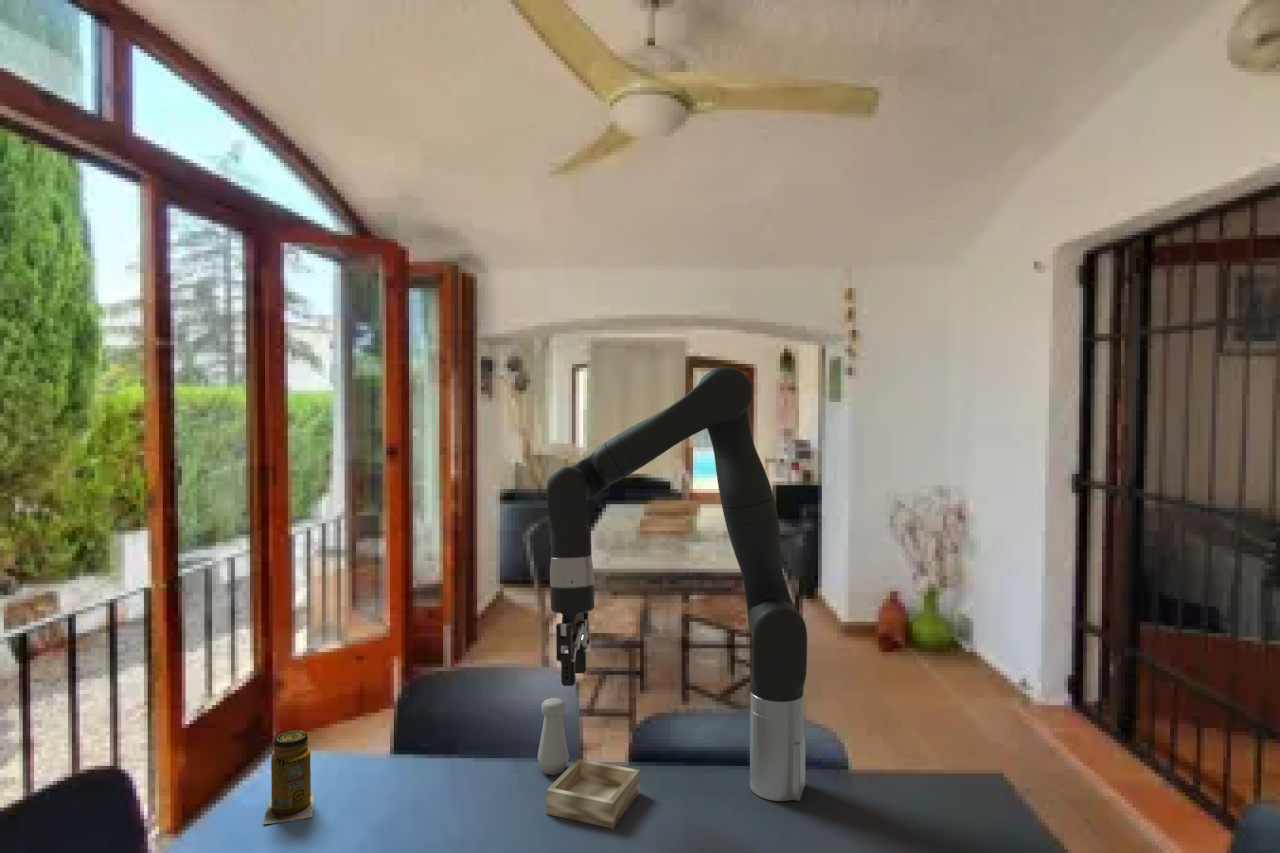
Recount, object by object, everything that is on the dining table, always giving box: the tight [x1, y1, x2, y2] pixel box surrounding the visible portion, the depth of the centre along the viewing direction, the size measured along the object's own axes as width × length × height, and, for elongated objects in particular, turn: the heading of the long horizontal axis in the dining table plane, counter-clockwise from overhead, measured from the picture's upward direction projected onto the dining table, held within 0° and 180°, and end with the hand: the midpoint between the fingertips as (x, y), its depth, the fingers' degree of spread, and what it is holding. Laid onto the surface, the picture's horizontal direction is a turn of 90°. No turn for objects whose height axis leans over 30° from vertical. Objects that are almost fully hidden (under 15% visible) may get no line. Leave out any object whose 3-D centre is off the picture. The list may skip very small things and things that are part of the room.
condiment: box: [262, 730, 316, 825], centre depth 127 cm, size 7×8×12 cm
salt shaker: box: [537, 697, 570, 776], centre depth 141 cm, size 6×6×13 cm
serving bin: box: [545, 758, 641, 829], centre depth 129 cm, size 12×12×4 cm
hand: (574, 678), depth 130 cm, fingers open, 8 cm apart
